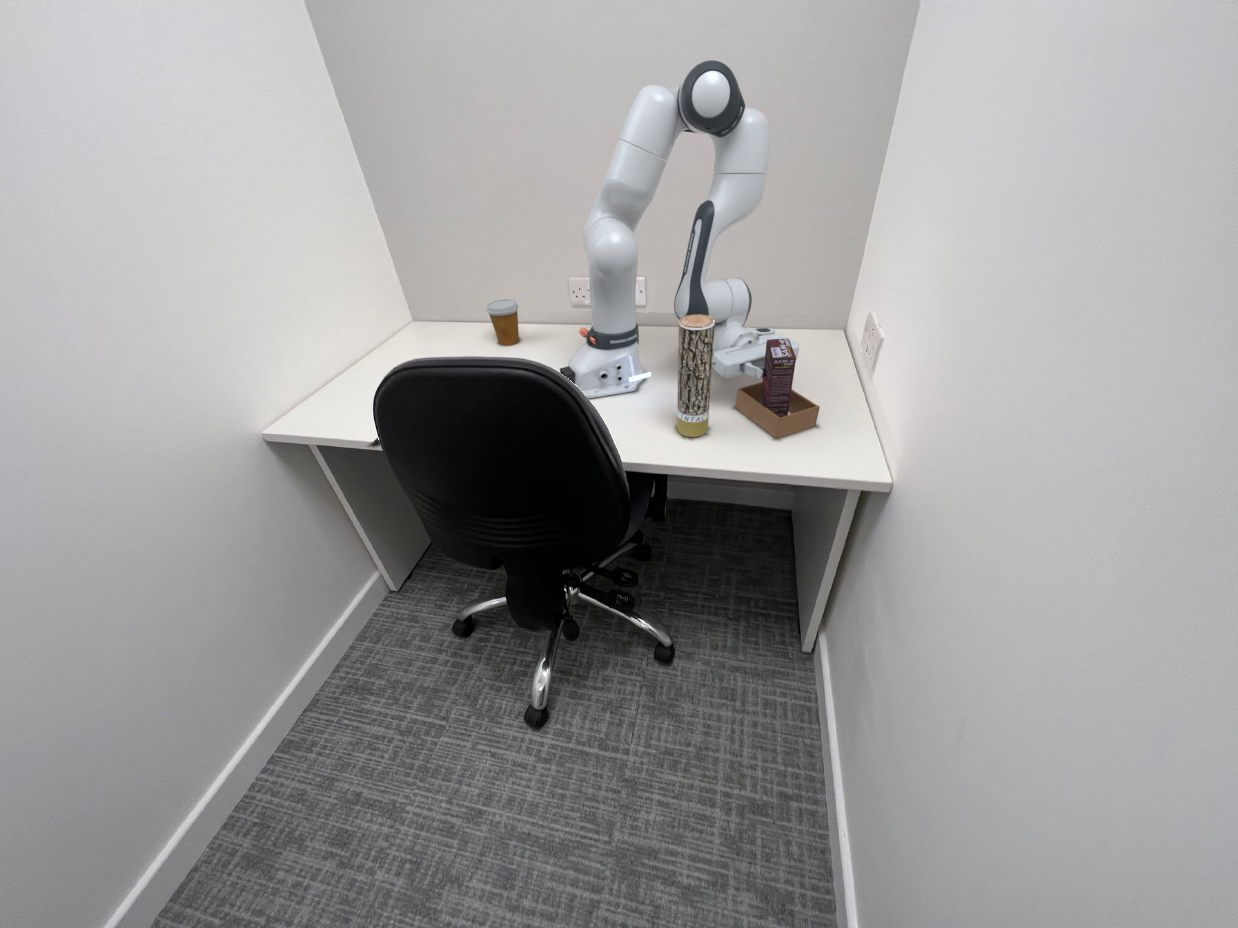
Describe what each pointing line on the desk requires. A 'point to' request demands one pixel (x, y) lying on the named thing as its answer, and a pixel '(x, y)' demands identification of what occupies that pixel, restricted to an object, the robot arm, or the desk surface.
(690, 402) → the paper tube
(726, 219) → the robot arm
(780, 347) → the supplement box
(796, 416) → the cardboard box
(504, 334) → the disposable coffee cup
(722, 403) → the desk surface
